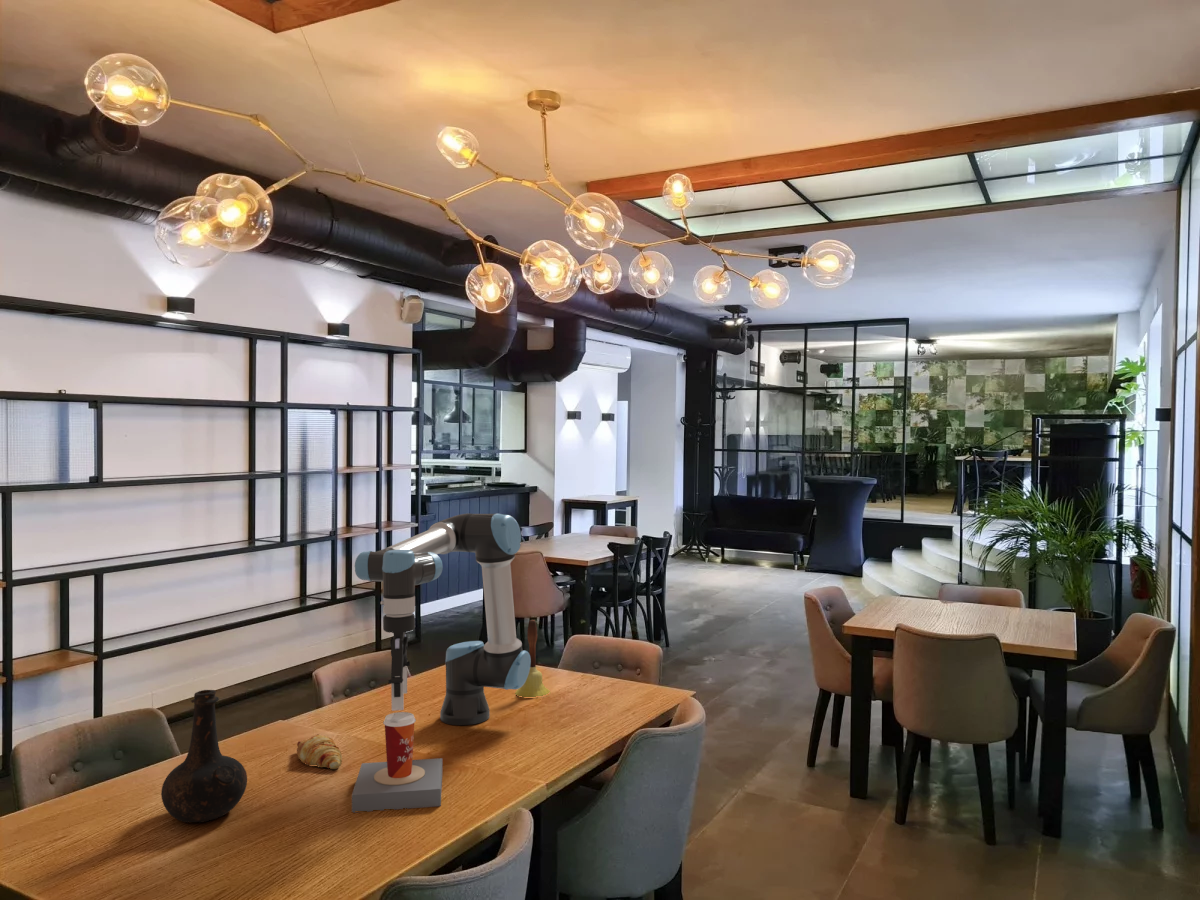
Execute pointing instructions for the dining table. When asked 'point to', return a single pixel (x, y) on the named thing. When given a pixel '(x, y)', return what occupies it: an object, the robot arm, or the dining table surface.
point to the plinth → (398, 787)
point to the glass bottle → (204, 771)
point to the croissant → (319, 752)
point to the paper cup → (399, 743)
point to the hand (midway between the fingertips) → (399, 701)
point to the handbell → (532, 668)
